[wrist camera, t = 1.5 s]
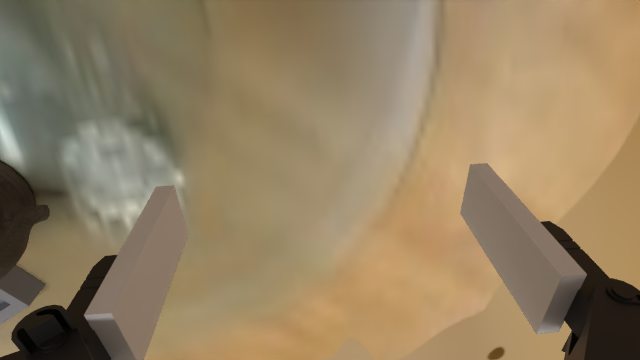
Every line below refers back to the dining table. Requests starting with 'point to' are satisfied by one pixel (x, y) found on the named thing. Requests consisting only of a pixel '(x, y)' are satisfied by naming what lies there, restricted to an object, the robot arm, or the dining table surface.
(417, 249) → the dining table surface
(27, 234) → the beer stein
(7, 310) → the tray
